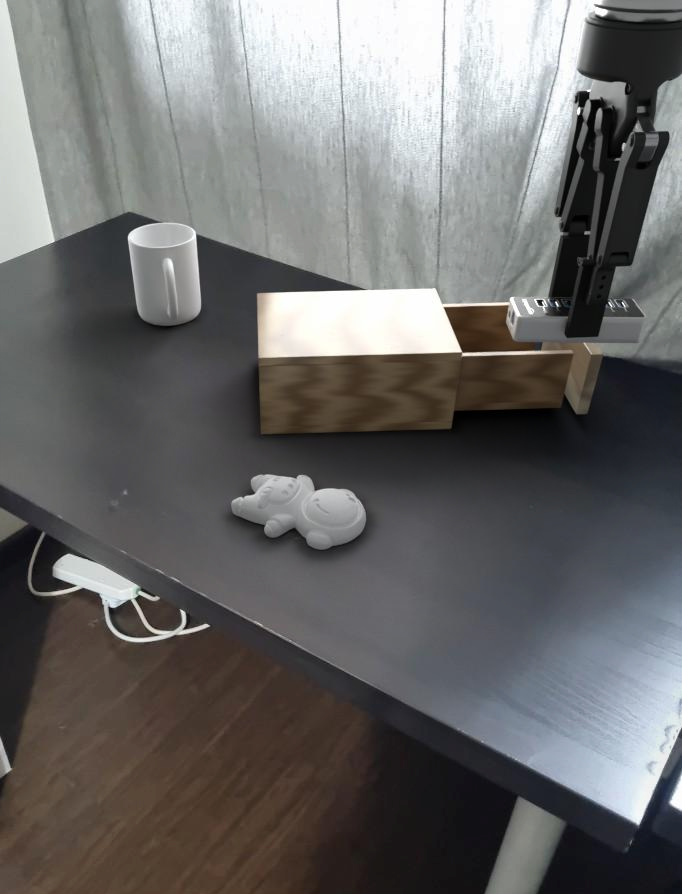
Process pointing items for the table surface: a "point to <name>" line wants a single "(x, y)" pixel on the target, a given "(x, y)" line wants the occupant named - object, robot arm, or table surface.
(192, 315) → the cup
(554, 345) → the drawer
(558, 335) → the multiport hub
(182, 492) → the table surface
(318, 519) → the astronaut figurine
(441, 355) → the cabinet
